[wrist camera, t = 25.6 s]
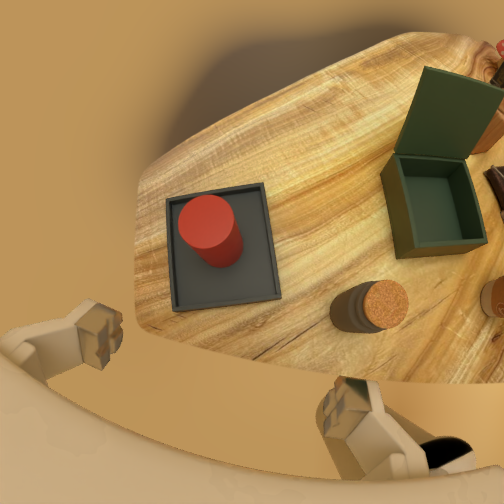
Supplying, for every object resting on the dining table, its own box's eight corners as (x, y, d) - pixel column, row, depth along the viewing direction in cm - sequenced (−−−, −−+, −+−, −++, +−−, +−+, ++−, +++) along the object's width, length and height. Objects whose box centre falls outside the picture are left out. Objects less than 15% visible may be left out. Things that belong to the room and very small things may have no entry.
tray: (281, 299, 41) (281, 297, 39) (176, 312, 42) (172, 311, 40) (263, 188, 46) (263, 182, 44) (169, 203, 46) (165, 198, 44)
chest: (465, 253, 41) (488, 242, 34) (396, 259, 41) (415, 248, 35) (447, 176, 44) (464, 158, 38) (379, 173, 45) (393, 152, 38)
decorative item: (472, 127, 47) (515, 72, 27) (487, 152, 45) (536, 100, 26) (455, 129, 47) (499, 69, 27) (470, 155, 45) (522, 99, 26)
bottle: (355, 284, 41) (395, 262, 27) (374, 318, 40) (422, 313, 25) (322, 304, 41) (348, 293, 26) (341, 339, 39) (377, 346, 25)
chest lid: (506, 92, 23) (489, 73, 25) (427, 69, 24) (411, 50, 26) (466, 159, 37) (456, 139, 39) (395, 153, 38) (385, 131, 40)
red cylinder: (246, 264, 42) (237, 244, 32) (202, 270, 42) (179, 252, 32) (240, 222, 44) (230, 190, 33) (198, 228, 44) (176, 199, 33)
